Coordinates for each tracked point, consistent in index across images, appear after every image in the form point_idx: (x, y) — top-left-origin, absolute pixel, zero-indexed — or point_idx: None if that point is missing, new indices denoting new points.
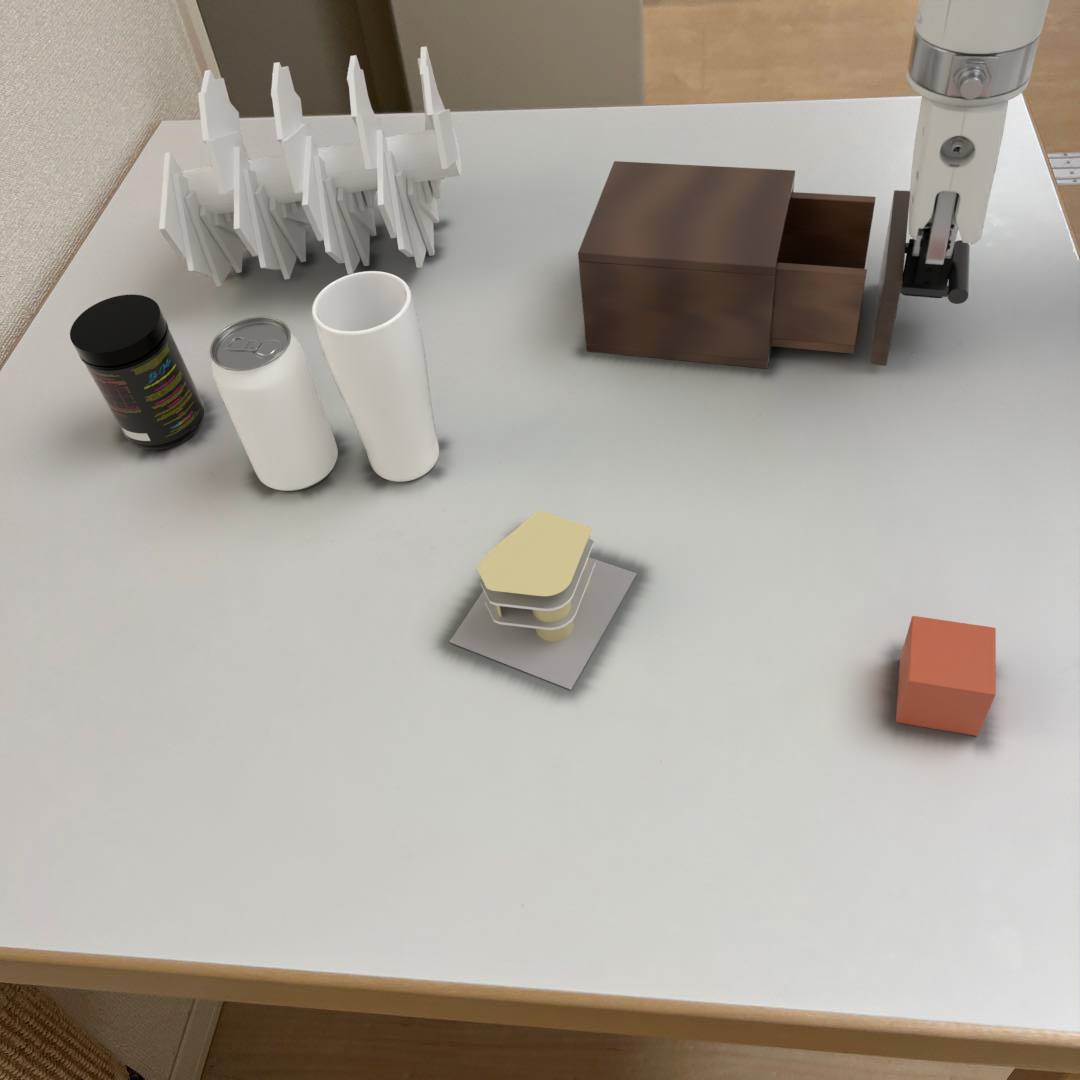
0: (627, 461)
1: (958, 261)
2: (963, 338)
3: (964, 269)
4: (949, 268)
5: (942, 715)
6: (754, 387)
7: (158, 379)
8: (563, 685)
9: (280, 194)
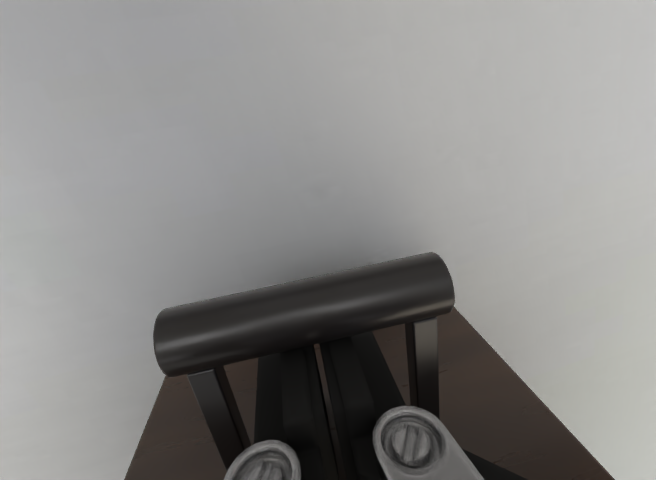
0: (610, 469)
1: (297, 339)
2: (299, 185)
3: (336, 310)
4: (356, 355)
5: None
6: None
7: None
8: None
9: None
